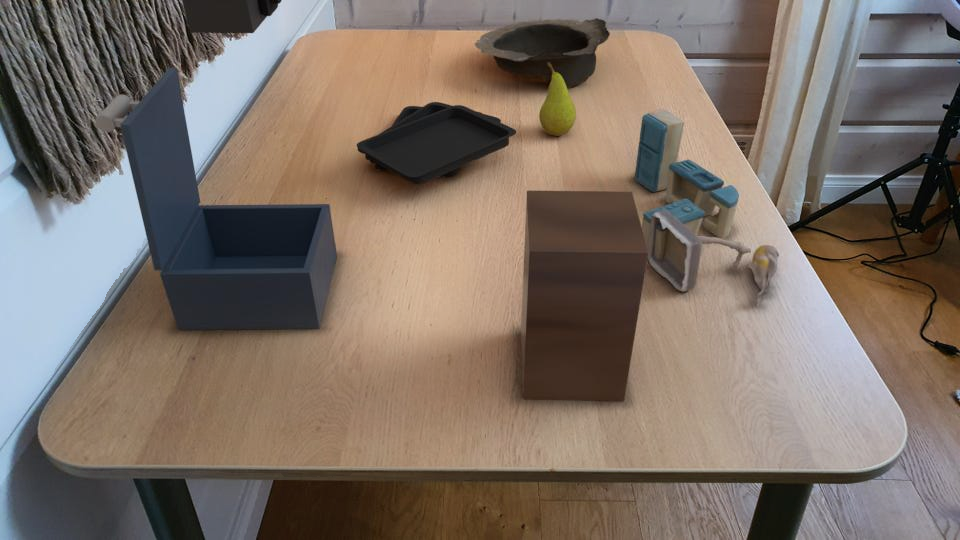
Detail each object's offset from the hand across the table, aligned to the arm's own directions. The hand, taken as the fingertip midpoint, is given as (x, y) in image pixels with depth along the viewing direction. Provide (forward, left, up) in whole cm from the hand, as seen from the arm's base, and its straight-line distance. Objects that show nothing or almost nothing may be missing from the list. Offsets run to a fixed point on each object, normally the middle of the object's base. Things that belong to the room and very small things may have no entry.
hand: (234, 9), depth 66 cm
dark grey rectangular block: (0, 0, -1) cm, 1 cm away
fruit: (+54, -5, -33) cm, 64 cm away
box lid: (-5, +10, -17) cm, 20 cm away
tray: (+37, +6, -33) cm, 50 cm away
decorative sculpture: (+30, -40, -33) cm, 60 cm away
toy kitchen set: (+40, -28, -33) cm, 59 cm away
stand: (+8, -32, -33) cm, 47 cm away
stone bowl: (+75, +10, -33) cm, 83 cm away
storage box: (-1, +4, -33) cm, 33 cm away
